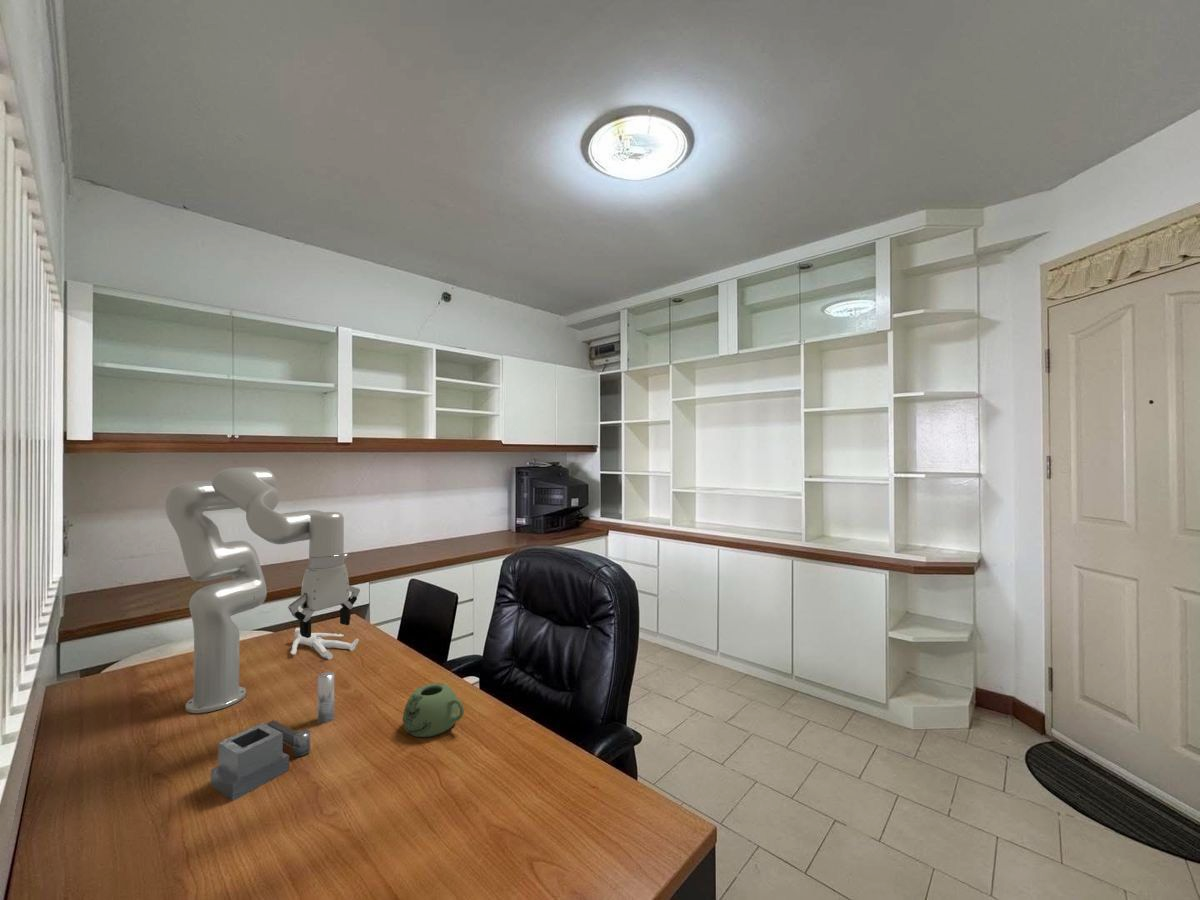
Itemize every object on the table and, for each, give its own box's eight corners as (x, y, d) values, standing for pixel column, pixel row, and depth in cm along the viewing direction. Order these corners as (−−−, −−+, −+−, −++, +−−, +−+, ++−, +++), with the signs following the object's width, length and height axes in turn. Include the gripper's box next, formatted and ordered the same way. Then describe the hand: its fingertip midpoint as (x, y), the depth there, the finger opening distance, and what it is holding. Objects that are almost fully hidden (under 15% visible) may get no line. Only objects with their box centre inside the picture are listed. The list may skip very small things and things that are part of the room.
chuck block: (210, 785, 93) (211, 744, 93) (266, 757, 102) (266, 720, 102) (232, 800, 89) (233, 758, 89) (288, 770, 97) (289, 731, 97)
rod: (314, 721, 116) (314, 676, 116) (328, 714, 119) (329, 670, 119) (322, 724, 114) (323, 679, 114) (337, 717, 117) (337, 673, 117)
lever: (260, 737, 109) (260, 719, 109) (274, 730, 111) (274, 713, 111) (298, 758, 101) (298, 739, 101) (312, 750, 103) (313, 732, 104)
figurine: (313, 672, 148) (267, 648, 158) (365, 650, 164) (320, 629, 175) (315, 655, 147) (269, 632, 158) (367, 635, 164) (322, 615, 175)
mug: (390, 734, 110) (390, 697, 110) (429, 707, 122) (429, 673, 122) (444, 749, 104) (444, 710, 104) (480, 719, 116) (480, 684, 116)
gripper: (350, 554, 127) (350, 617, 126) (281, 567, 111) (280, 639, 111) (367, 556, 123) (367, 622, 122) (298, 570, 108) (297, 645, 107)
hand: (326, 630), depth 117 cm, fingers open, 9 cm apart
